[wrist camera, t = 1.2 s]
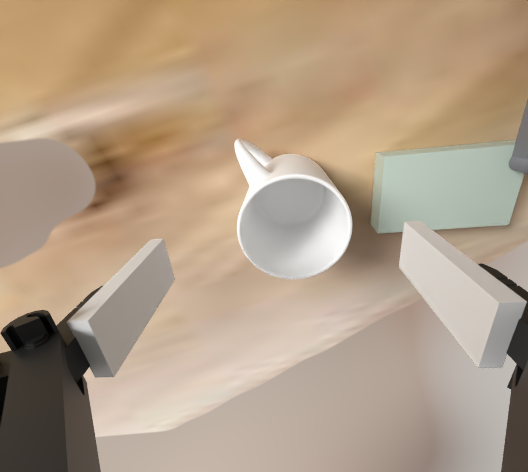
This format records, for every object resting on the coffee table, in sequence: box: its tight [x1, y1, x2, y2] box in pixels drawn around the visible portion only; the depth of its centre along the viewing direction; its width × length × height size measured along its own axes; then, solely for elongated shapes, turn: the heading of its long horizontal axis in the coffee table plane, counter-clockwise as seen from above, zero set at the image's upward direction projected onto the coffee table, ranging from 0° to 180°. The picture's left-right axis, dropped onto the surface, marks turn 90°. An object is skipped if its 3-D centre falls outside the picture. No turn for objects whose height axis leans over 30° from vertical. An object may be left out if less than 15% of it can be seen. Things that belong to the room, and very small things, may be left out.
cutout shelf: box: [371, 100, 528, 234], centre depth 22 cm, size 32×13×4 cm, turn 6°
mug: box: [235, 139, 353, 279], centre depth 24 cm, size 9×12×11 cm
